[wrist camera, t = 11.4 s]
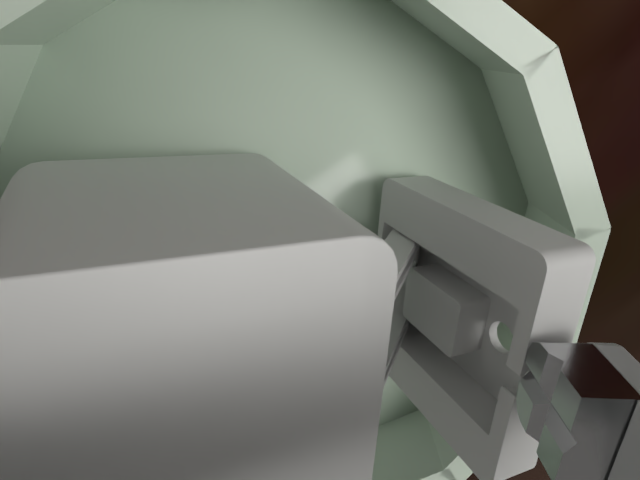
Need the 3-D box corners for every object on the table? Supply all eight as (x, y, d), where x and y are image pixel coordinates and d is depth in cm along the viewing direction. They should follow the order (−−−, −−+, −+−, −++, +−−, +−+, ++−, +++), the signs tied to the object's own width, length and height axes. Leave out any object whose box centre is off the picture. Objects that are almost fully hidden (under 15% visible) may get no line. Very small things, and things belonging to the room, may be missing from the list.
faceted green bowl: (483, 457, 18) (517, 537, 15) (35, 448, 17) (-20, 530, 14) (604, -47, 12) (702, -76, 9) (-88, -92, 11) (-230, -141, 8)
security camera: (394, 146, 14) (1, 161, 10) (607, 226, 8) (-114, 330, 4) (374, 327, 17) (49, 395, 13) (529, 488, 11) (14, 705, 7)
